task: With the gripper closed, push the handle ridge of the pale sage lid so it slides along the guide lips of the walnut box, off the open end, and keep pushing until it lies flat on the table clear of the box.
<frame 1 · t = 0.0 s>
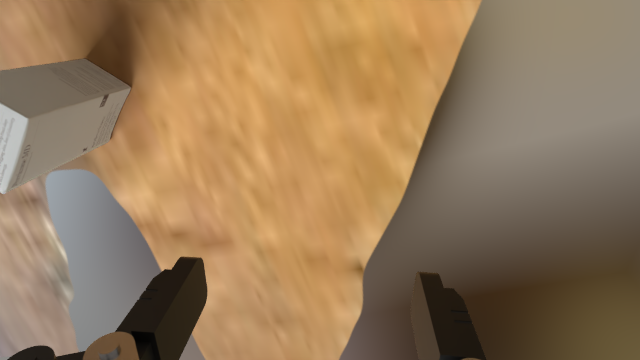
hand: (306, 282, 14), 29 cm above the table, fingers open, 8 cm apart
skincare box: (98, 98, 42), on the table
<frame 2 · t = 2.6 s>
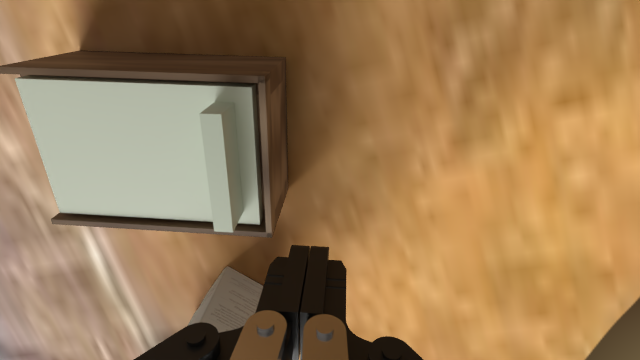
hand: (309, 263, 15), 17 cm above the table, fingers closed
box: (190, 124, 30), on the table
lid: (153, 150, 25), point 6 cm above the table, touching box
skincare box: (234, 298, 39), on the table
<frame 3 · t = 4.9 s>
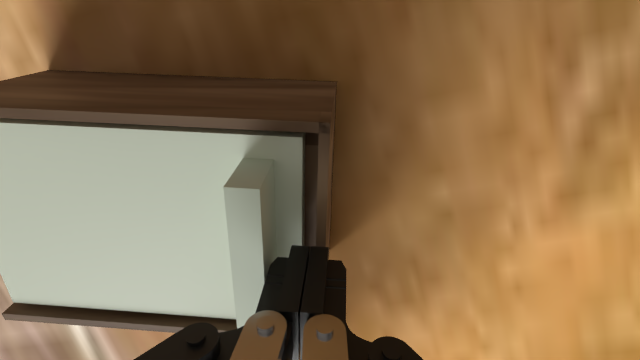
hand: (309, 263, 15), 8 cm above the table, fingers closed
box: (200, 168, 22), on the table
lid: (147, 220, 17), point 6 cm above the table, touching box, gripper
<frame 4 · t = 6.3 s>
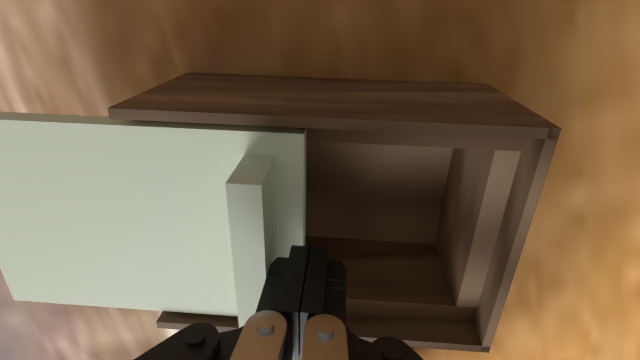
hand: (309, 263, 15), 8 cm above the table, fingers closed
box: (330, 172, 22), on the table
lid: (148, 217, 17), point 6 cm above the table, touching gripper
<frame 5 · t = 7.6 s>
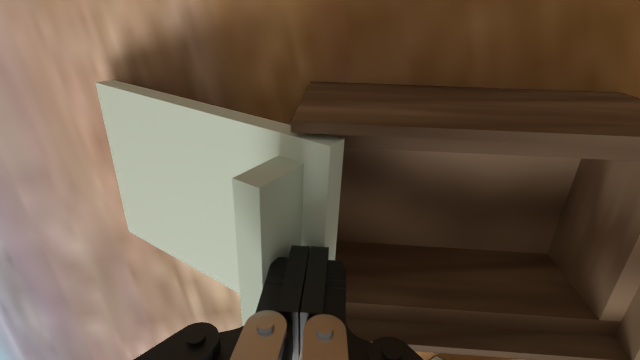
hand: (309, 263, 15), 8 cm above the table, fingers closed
box: (445, 181, 22), on the table
lid: (214, 193, 19), point 4 cm above the table, tilted 28°, touching gripper
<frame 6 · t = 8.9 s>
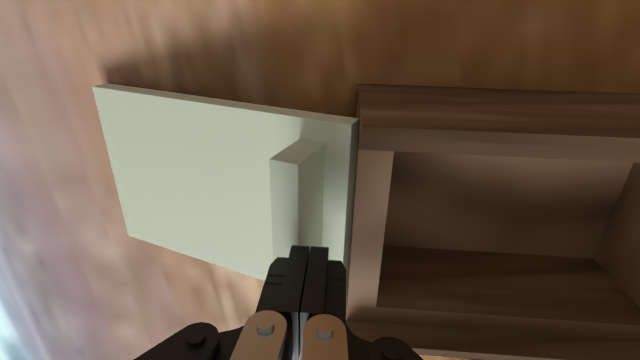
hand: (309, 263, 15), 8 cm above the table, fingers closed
box: (490, 185, 21), on the table
lid: (224, 185, 20), point 2 cm above the table, tilted 19°
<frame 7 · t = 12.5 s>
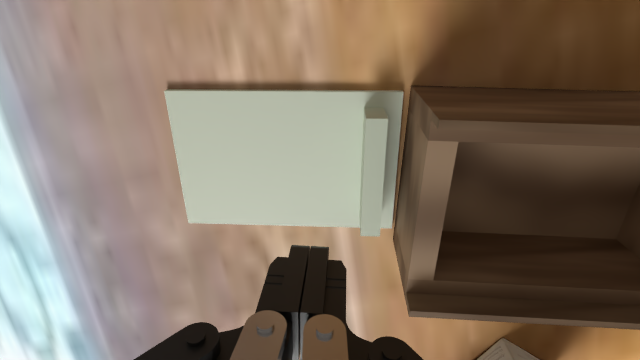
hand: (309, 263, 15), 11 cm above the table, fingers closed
box: (525, 174, 24), on the table
lid: (287, 158, 25), on the table
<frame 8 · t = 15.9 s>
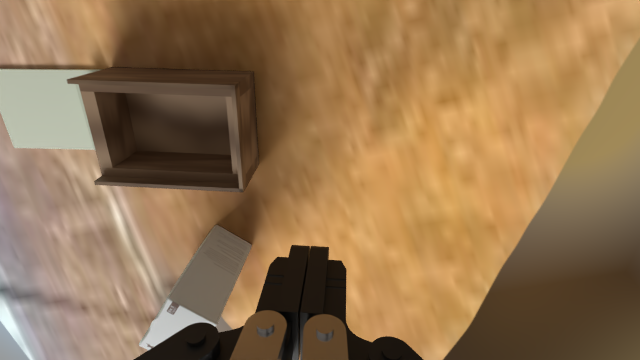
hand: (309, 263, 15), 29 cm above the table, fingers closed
box: (188, 117, 43), on the table
lid: (63, 109, 45), on the table
skincare box: (221, 250, 52), on the table
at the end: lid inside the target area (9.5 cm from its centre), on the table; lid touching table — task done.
